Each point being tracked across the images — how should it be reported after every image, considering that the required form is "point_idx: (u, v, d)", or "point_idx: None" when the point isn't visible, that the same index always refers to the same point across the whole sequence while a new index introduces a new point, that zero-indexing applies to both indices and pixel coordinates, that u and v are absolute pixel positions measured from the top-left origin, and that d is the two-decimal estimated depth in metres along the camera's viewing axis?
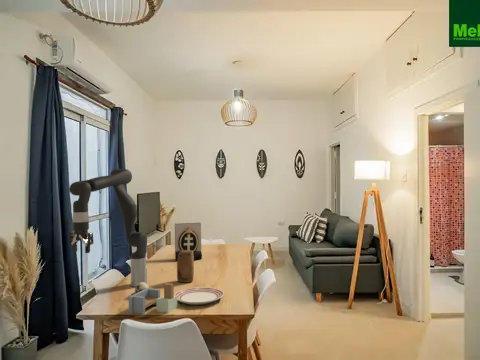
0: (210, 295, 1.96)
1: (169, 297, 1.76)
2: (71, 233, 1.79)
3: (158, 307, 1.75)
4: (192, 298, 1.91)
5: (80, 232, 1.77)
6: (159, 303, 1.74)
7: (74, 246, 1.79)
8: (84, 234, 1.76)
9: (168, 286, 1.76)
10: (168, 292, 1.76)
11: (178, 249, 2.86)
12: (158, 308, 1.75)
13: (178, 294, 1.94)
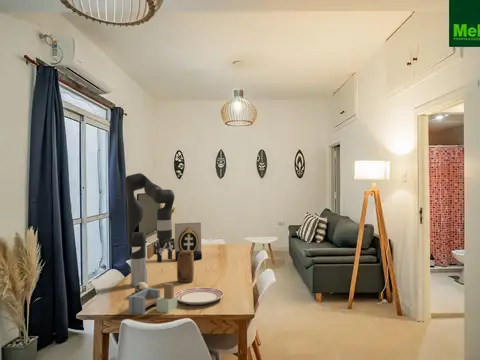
0: (210, 295, 1.96)
1: (169, 297, 1.76)
2: None
3: (158, 307, 1.75)
4: (192, 298, 1.91)
5: (167, 240, 1.77)
6: (159, 303, 1.74)
7: None
8: (170, 241, 1.79)
9: (168, 286, 1.76)
10: (168, 292, 1.76)
11: (178, 249, 2.86)
12: (158, 308, 1.75)
13: (178, 294, 1.94)
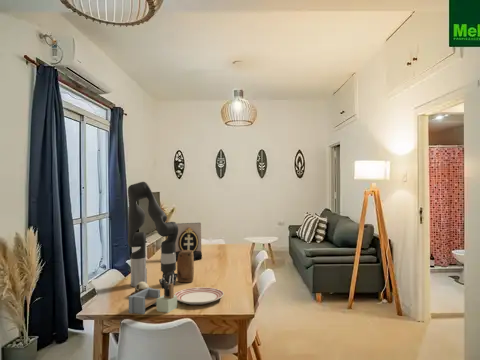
0: (210, 295, 1.96)
1: (169, 297, 1.76)
2: (163, 280, 1.72)
3: (158, 307, 1.75)
4: (192, 298, 1.91)
5: (171, 272, 1.77)
6: (159, 303, 1.74)
7: None
8: (173, 273, 1.80)
9: None
10: None
11: (178, 249, 2.86)
12: (158, 308, 1.75)
13: (178, 294, 1.94)
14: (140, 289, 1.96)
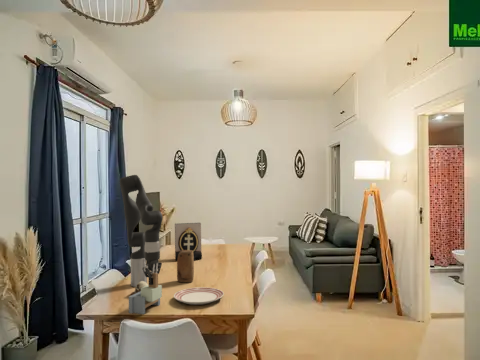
0: (210, 295, 1.96)
1: (153, 286, 1.76)
2: (147, 268, 1.72)
3: (142, 296, 1.75)
4: (192, 298, 1.91)
5: (155, 261, 1.77)
6: (144, 292, 1.74)
7: None
8: (158, 262, 1.80)
9: (153, 275, 1.76)
10: (153, 281, 1.76)
11: (178, 249, 2.86)
12: None
13: (178, 294, 1.94)
14: (140, 289, 1.97)
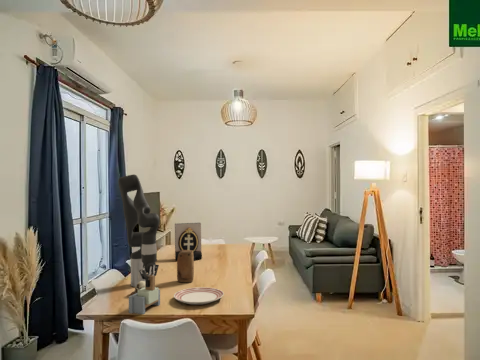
0: (210, 295, 1.96)
1: (150, 289, 1.76)
2: None
3: None
4: (192, 298, 1.91)
5: (152, 263, 1.78)
6: (140, 294, 1.75)
7: None
8: (154, 264, 1.81)
9: (150, 278, 1.76)
10: (150, 284, 1.76)
11: (178, 249, 2.86)
12: None
13: (178, 294, 1.94)
14: (140, 288, 1.98)
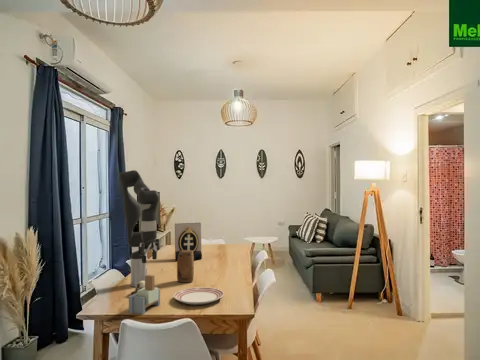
0: (210, 295, 1.96)
1: (150, 289, 1.76)
2: None
3: None
4: (192, 298, 1.91)
5: (152, 240, 1.78)
6: (140, 295, 1.75)
7: None
8: (154, 241, 1.81)
9: (149, 278, 1.77)
10: (149, 284, 1.77)
11: (178, 249, 2.86)
12: None
13: (178, 294, 1.94)
14: (141, 288, 1.98)
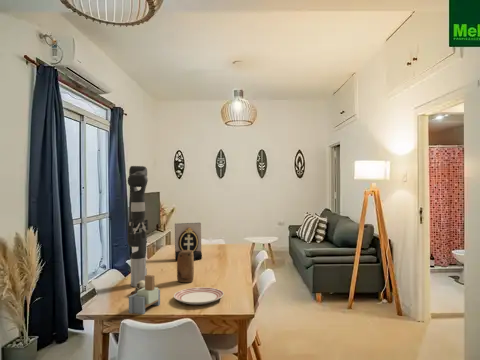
0: (210, 295, 1.96)
1: (150, 289, 1.76)
2: None
3: None
4: (192, 298, 1.91)
5: (140, 220, 1.93)
6: (140, 295, 1.75)
7: None
8: (143, 221, 1.95)
9: (149, 278, 1.77)
10: (149, 284, 1.77)
11: (178, 249, 2.86)
12: None
13: (178, 294, 1.94)
14: (141, 288, 1.99)
